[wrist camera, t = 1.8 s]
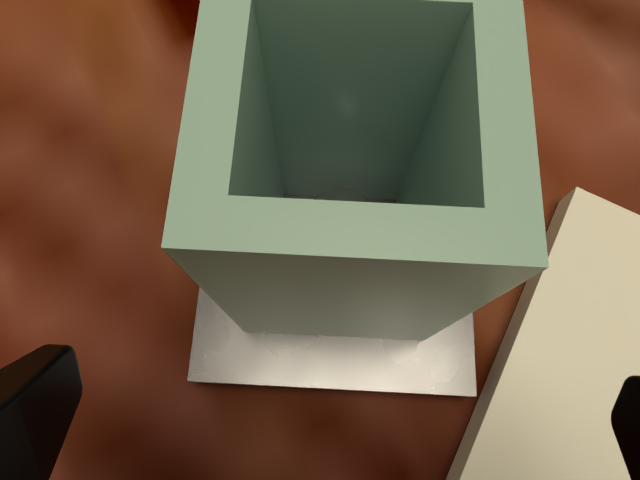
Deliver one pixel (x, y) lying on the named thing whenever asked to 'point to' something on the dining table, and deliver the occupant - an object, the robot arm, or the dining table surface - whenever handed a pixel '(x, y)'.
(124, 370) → the dining table surface
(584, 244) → the board
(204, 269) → the sleeve
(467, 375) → the stand
